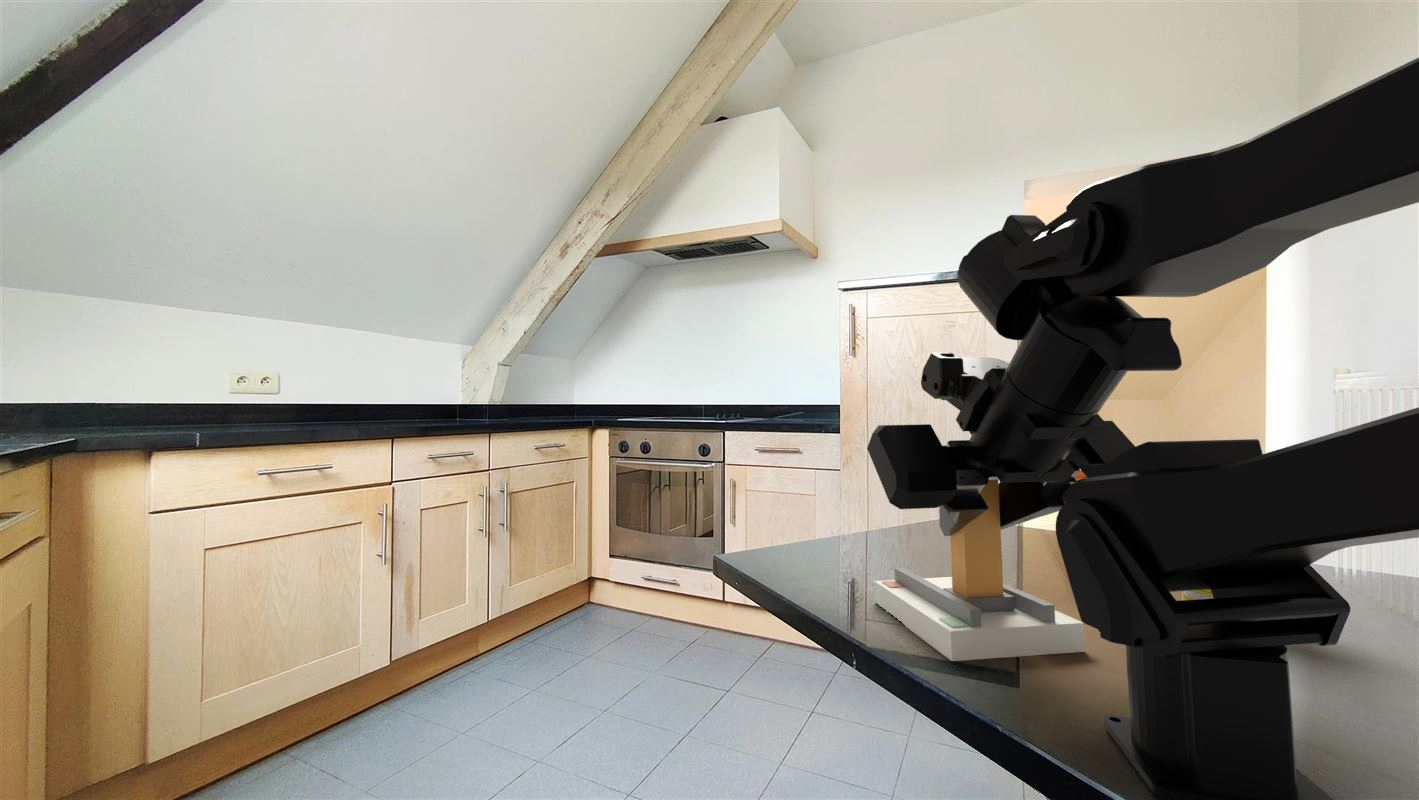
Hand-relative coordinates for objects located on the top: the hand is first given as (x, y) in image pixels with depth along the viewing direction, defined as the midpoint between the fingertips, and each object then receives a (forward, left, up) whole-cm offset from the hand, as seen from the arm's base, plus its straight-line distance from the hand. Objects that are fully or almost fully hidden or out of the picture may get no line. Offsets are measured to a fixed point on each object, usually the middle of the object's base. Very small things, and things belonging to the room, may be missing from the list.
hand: (963, 530), depth 46 cm
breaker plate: (0, 0, -8) cm, 8 cm away
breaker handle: (-1, -1, -6) cm, 6 cm away
